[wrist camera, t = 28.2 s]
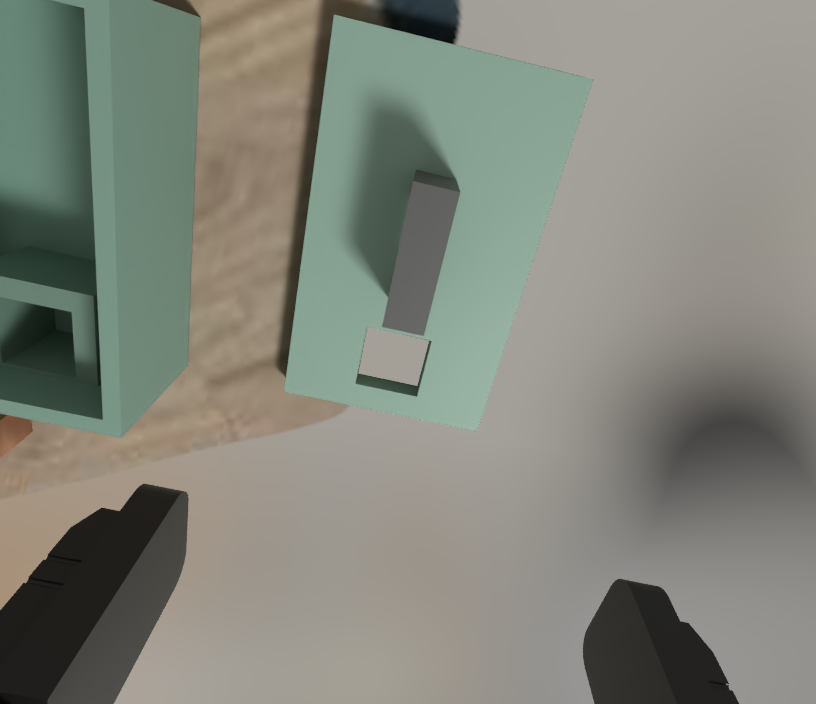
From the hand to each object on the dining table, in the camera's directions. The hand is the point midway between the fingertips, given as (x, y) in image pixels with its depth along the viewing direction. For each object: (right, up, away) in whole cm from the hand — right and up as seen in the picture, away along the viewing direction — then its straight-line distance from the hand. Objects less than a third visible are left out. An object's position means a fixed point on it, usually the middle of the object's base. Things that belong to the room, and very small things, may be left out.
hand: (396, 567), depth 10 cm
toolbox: (-20, +14, +23) cm, 34 cm away
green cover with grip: (+1, +10, +24) cm, 26 cm away
